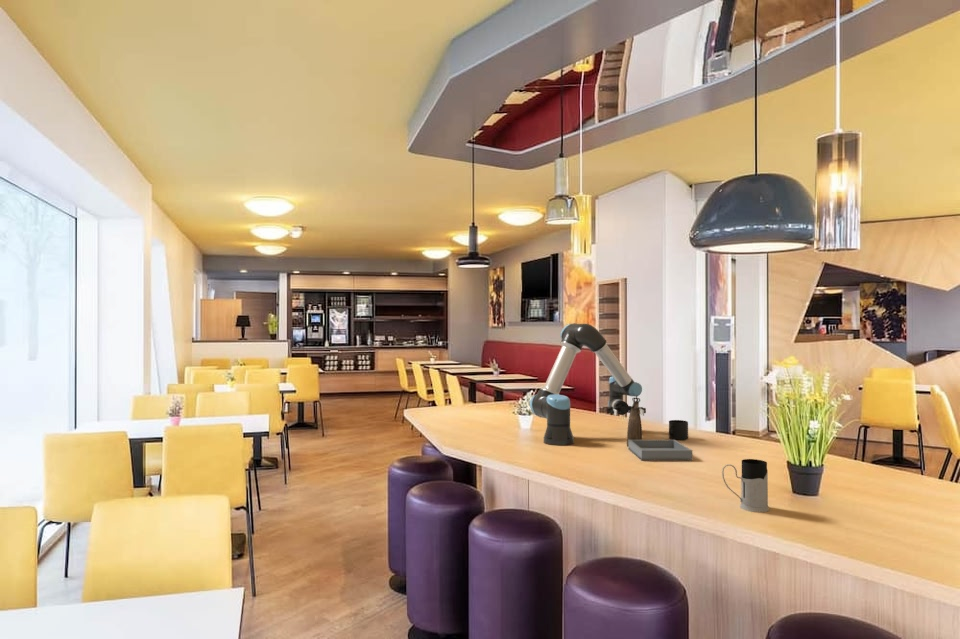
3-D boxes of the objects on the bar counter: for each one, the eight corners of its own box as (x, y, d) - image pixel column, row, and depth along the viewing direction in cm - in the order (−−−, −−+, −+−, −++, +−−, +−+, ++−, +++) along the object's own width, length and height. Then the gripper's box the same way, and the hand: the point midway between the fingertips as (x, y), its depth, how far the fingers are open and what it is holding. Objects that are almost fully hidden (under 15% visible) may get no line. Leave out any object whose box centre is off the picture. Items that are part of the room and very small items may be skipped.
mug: (661, 439, 312) (661, 421, 312) (677, 436, 319) (676, 419, 319) (676, 441, 304) (676, 424, 305) (692, 439, 311) (691, 421, 311)
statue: (643, 447, 290) (640, 395, 290) (627, 447, 291) (624, 396, 292) (642, 444, 298) (639, 393, 299) (626, 444, 300) (624, 394, 301)
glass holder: (773, 512, 190) (772, 465, 190) (725, 510, 193) (725, 463, 193) (764, 504, 199) (764, 459, 199) (719, 502, 201) (719, 457, 201)
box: (641, 460, 263) (641, 450, 263) (628, 449, 287) (628, 439, 287) (692, 460, 263) (692, 450, 263) (674, 449, 287) (674, 439, 287)
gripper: (643, 413, 326) (654, 420, 305) (597, 414, 326) (605, 420, 305) (643, 399, 326) (654, 405, 305) (597, 400, 326) (605, 405, 305)
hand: (629, 413), depth 305 cm, fingers open, 13 cm apart
